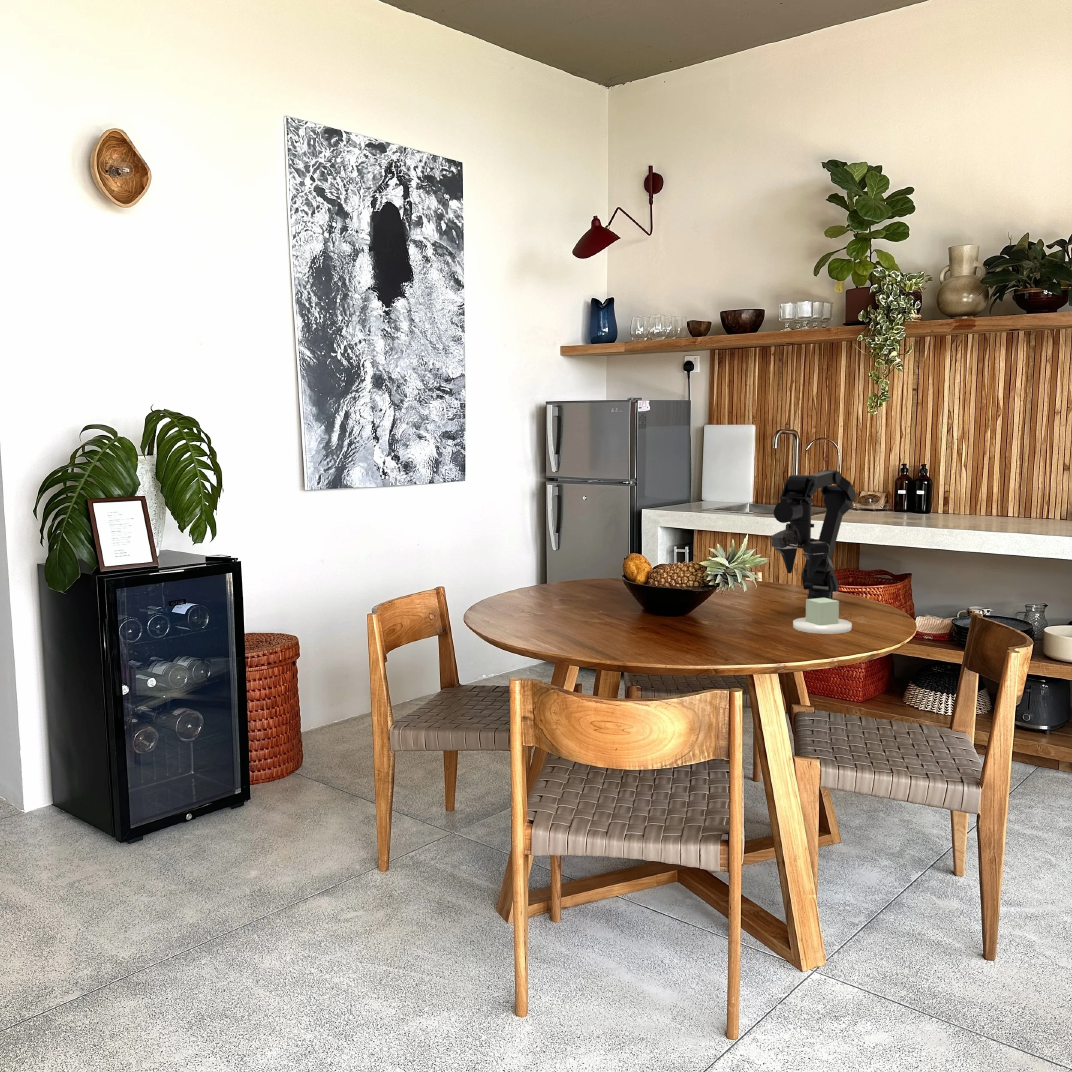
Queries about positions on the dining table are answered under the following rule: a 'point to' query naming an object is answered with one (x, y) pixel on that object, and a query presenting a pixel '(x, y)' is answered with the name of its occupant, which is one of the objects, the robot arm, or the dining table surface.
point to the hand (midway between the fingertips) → (799, 575)
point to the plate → (822, 627)
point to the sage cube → (822, 611)
